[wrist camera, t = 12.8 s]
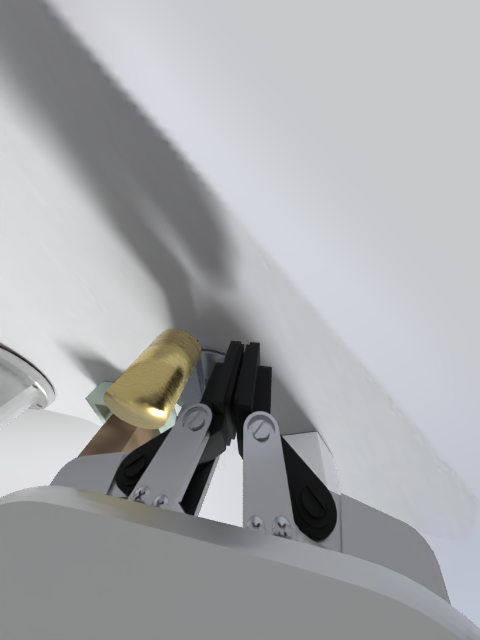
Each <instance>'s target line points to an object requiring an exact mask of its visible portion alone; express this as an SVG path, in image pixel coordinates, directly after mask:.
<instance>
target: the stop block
mask: <svg viewBox="0 0 480 640" xmlns="http://www.w3.org/2000/svg"><path fill="white" fill-rule="evenodd" d="M155 430H156V429H144V428H140V427H136V426H134V425H131V424H129V423H127V422H125V421H123V420H122V419H120V418H118V417H117V416H116V415H115V414H112V415H111V416H110V417H109V419H108V420H107V421H106V422H105V424H104V425H103V426H102V427H101V429H100V430H99V431H98V432H97V434H96V435H95V436H94V437H93V438H92V440H91V441H90V442H89V443H88V445H87V446H86V447H85V448H84V450H83V451H82V452H81V453H80V455H79V456H78V457H81V456H89V455H98V454H108V453H117V452H125V453H126V454H127V453H131V452H132V451H133V450H135V449H137V448H138V447H140V446H142V445H143V444H145V443H146V442H148V441H149V440H150V439H151V437H152V435H153V433H154V431H155ZM78 457H77V458H78Z"/></svg>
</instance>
